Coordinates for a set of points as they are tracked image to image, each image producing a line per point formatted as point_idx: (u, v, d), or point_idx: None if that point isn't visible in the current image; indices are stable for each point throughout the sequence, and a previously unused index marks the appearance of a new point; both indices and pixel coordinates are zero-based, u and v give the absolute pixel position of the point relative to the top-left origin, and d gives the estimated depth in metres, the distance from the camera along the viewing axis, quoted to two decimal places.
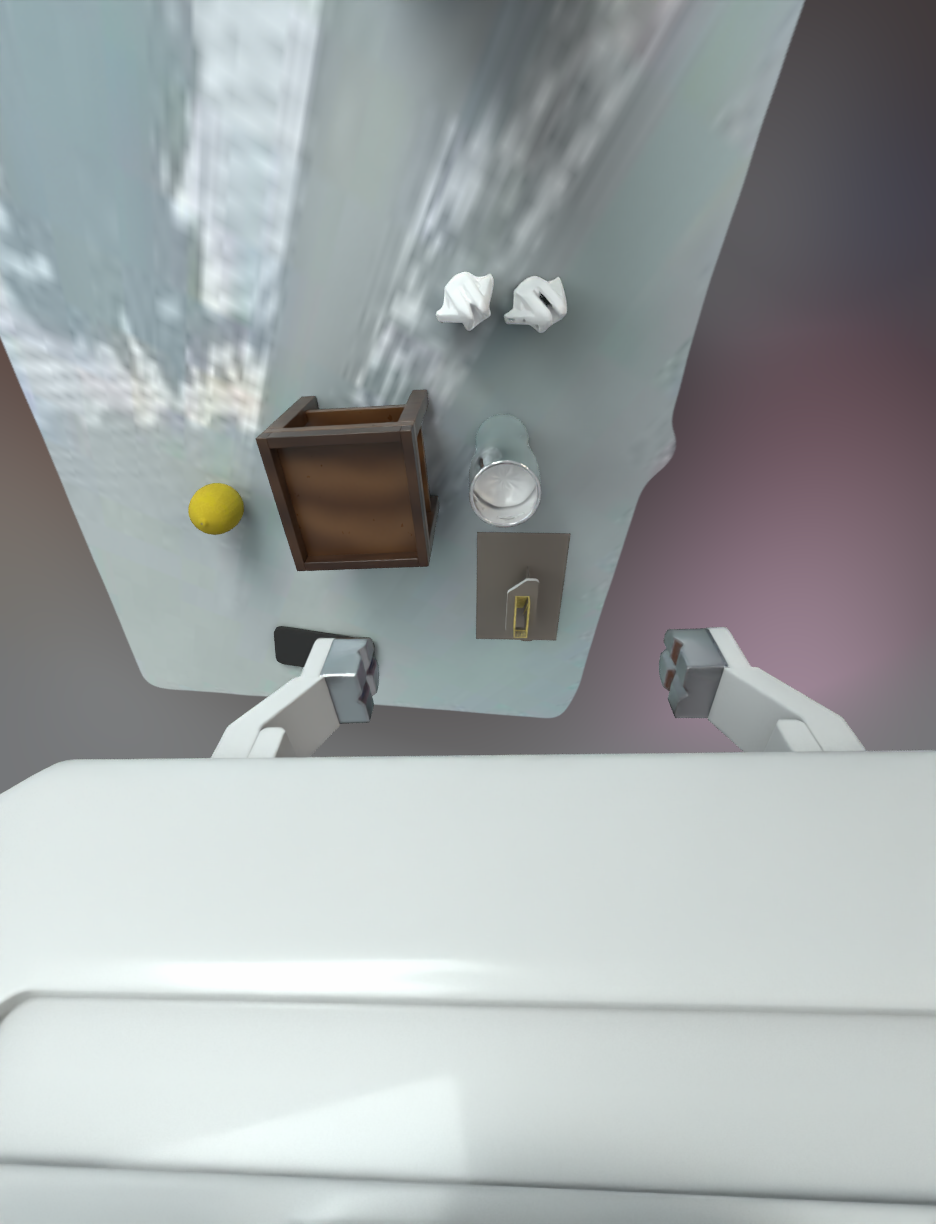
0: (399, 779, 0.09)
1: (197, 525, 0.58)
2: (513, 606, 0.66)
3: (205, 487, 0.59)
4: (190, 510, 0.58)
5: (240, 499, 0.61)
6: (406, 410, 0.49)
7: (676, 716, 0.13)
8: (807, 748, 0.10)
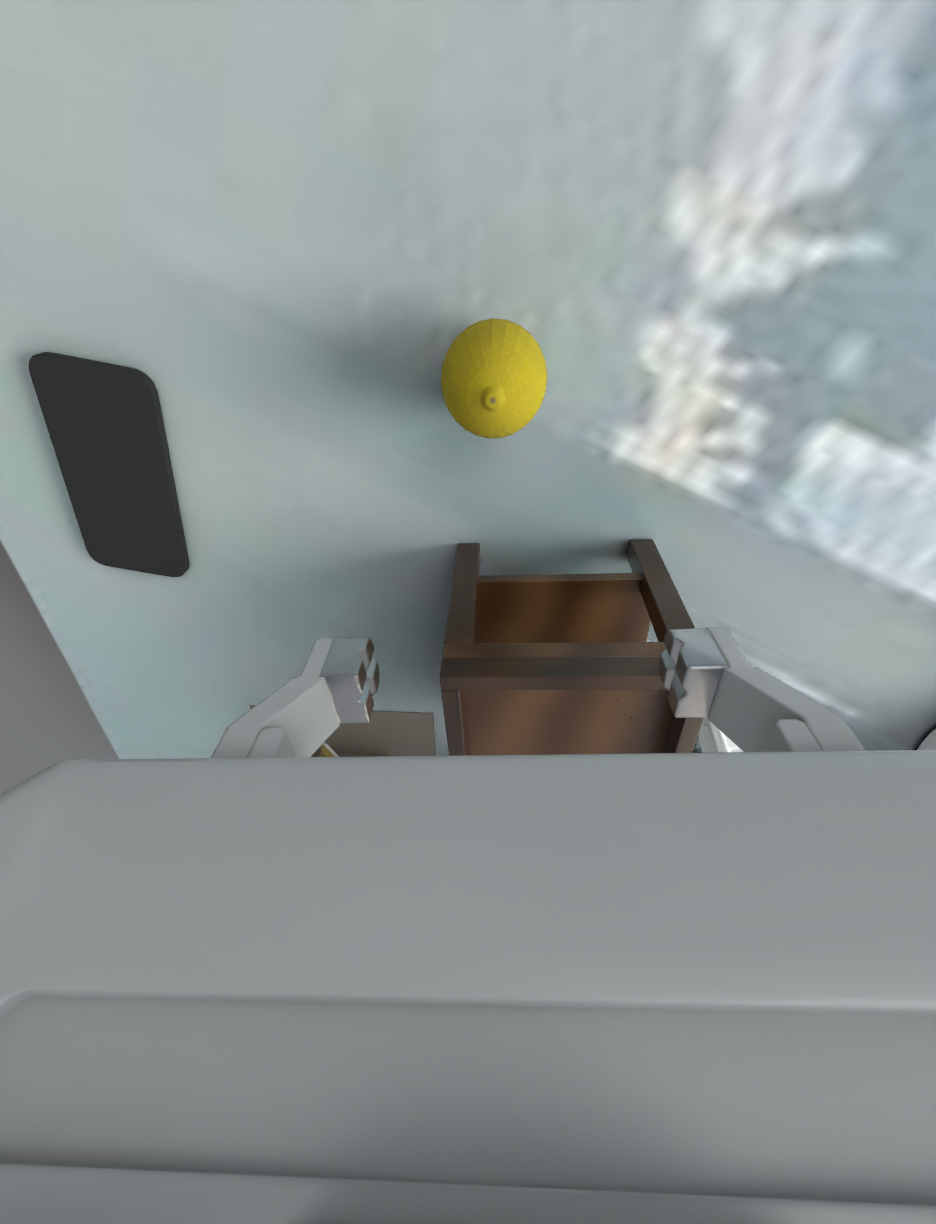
0: (398, 780, 0.09)
1: (482, 373, 0.23)
2: None
3: (546, 371, 0.26)
4: (517, 359, 0.24)
5: None
6: None
7: (676, 716, 0.13)
8: (807, 748, 0.10)
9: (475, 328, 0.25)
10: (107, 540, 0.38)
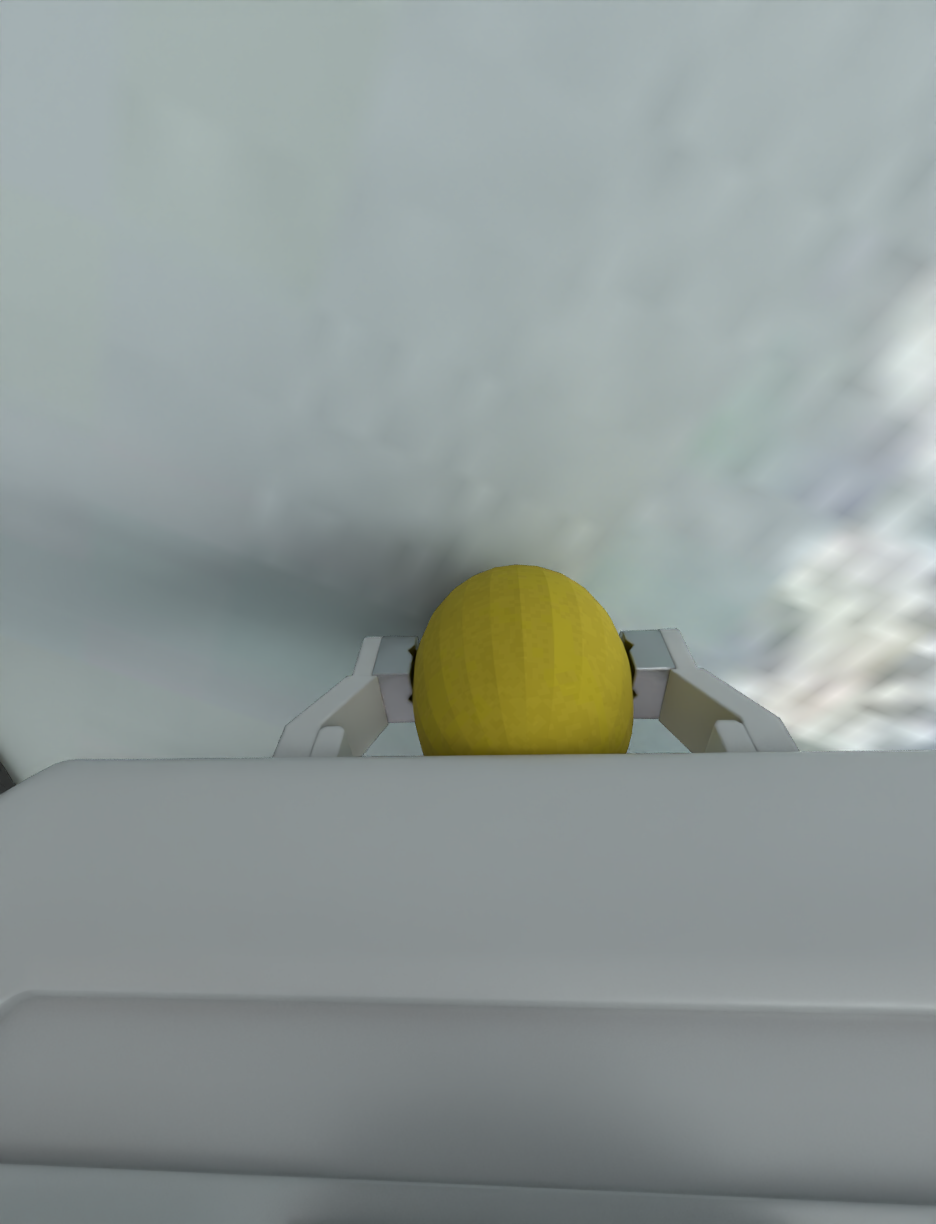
0: (399, 779, 0.09)
1: None
2: None
3: None
4: (585, 727, 0.10)
5: None
6: None
7: None
8: (742, 748, 0.10)
9: (484, 626, 0.11)
10: None
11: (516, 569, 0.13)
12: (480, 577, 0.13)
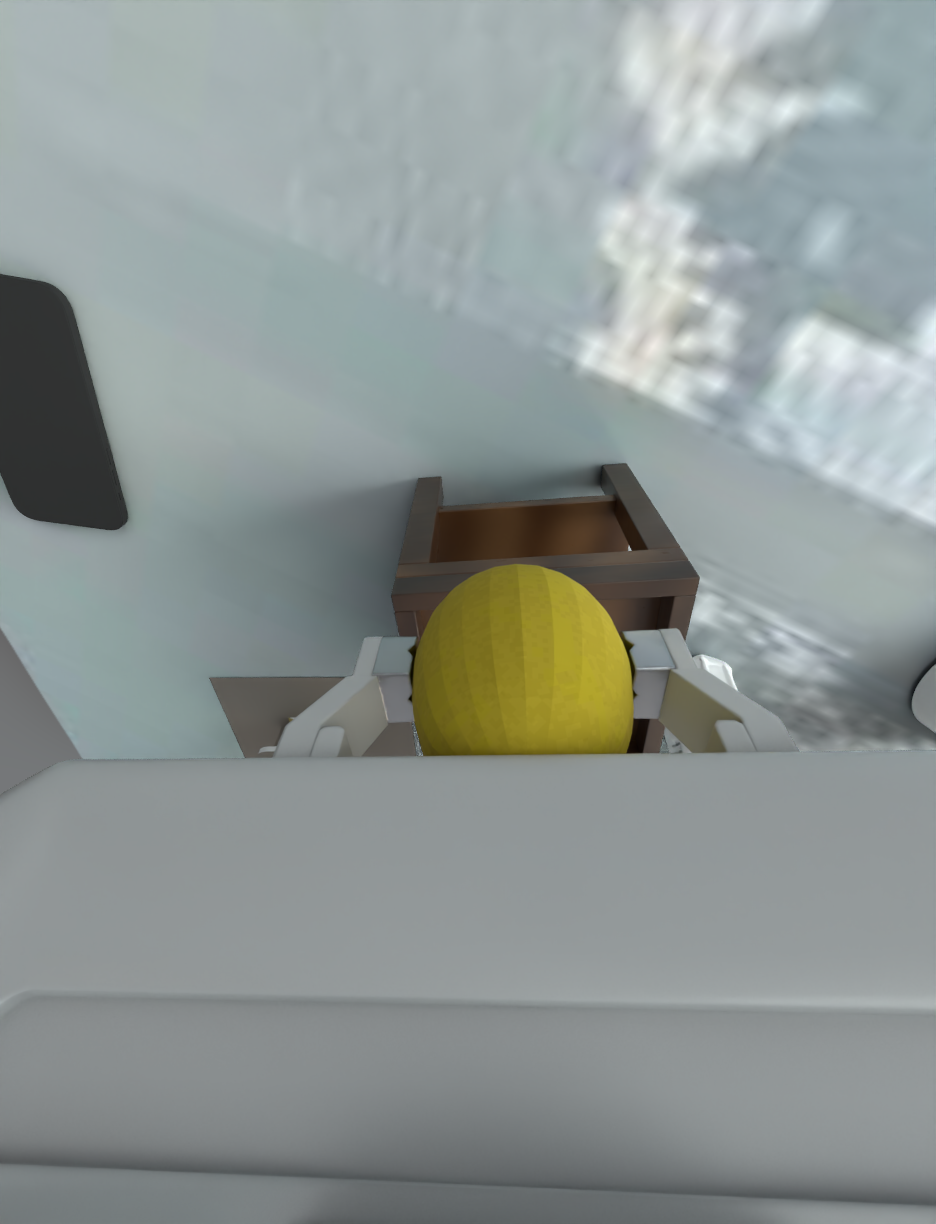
0: (399, 780, 0.09)
1: None
2: None
3: None
4: (585, 727, 0.10)
5: None
6: None
7: None
8: (742, 749, 0.10)
9: (483, 626, 0.11)
10: (34, 490, 0.34)
11: (516, 568, 0.13)
12: (480, 576, 0.13)
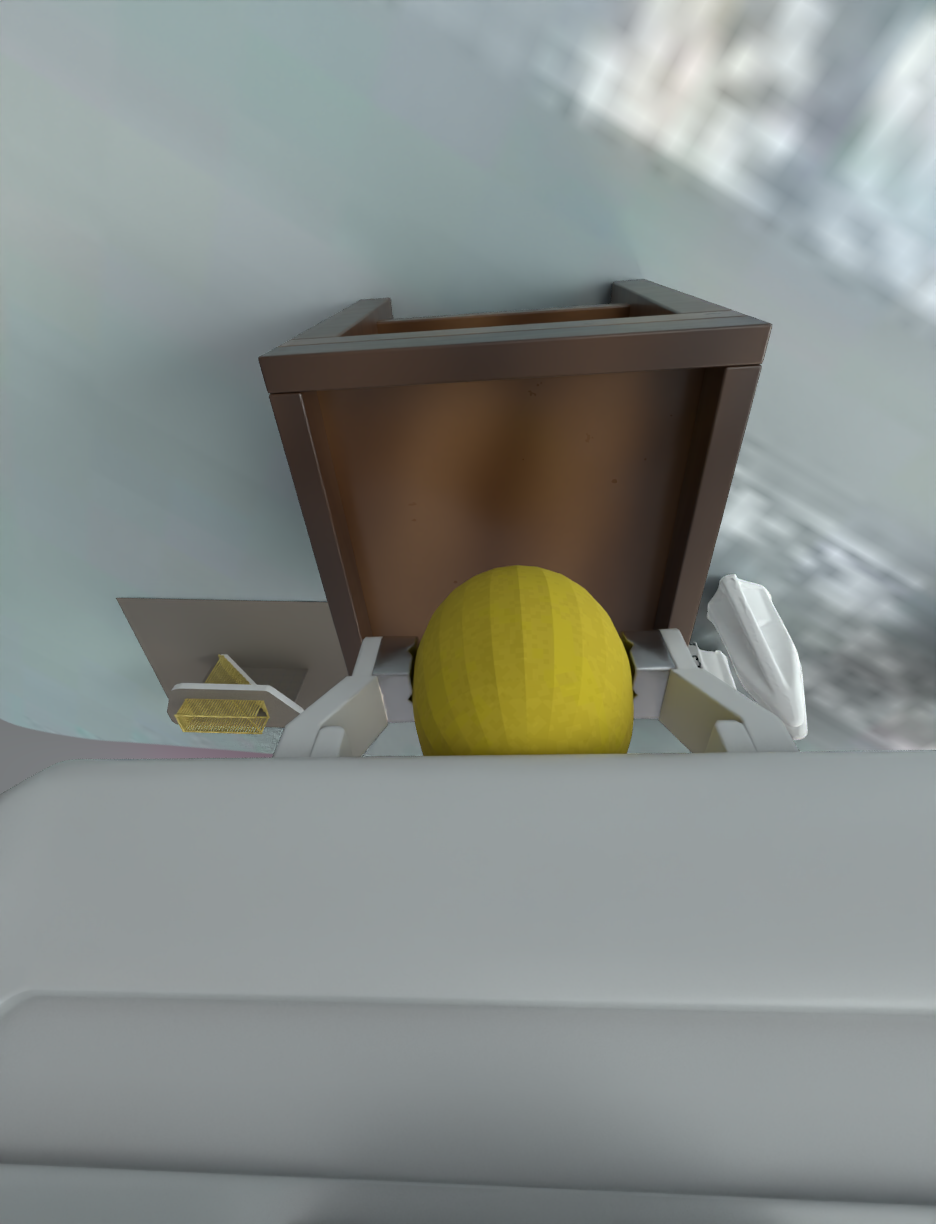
0: (399, 780, 0.09)
1: None
2: (239, 698, 0.36)
3: None
4: (585, 728, 0.10)
5: None
6: None
7: None
8: (742, 749, 0.10)
9: (484, 627, 0.11)
10: None
11: (516, 570, 0.13)
12: (480, 578, 0.13)
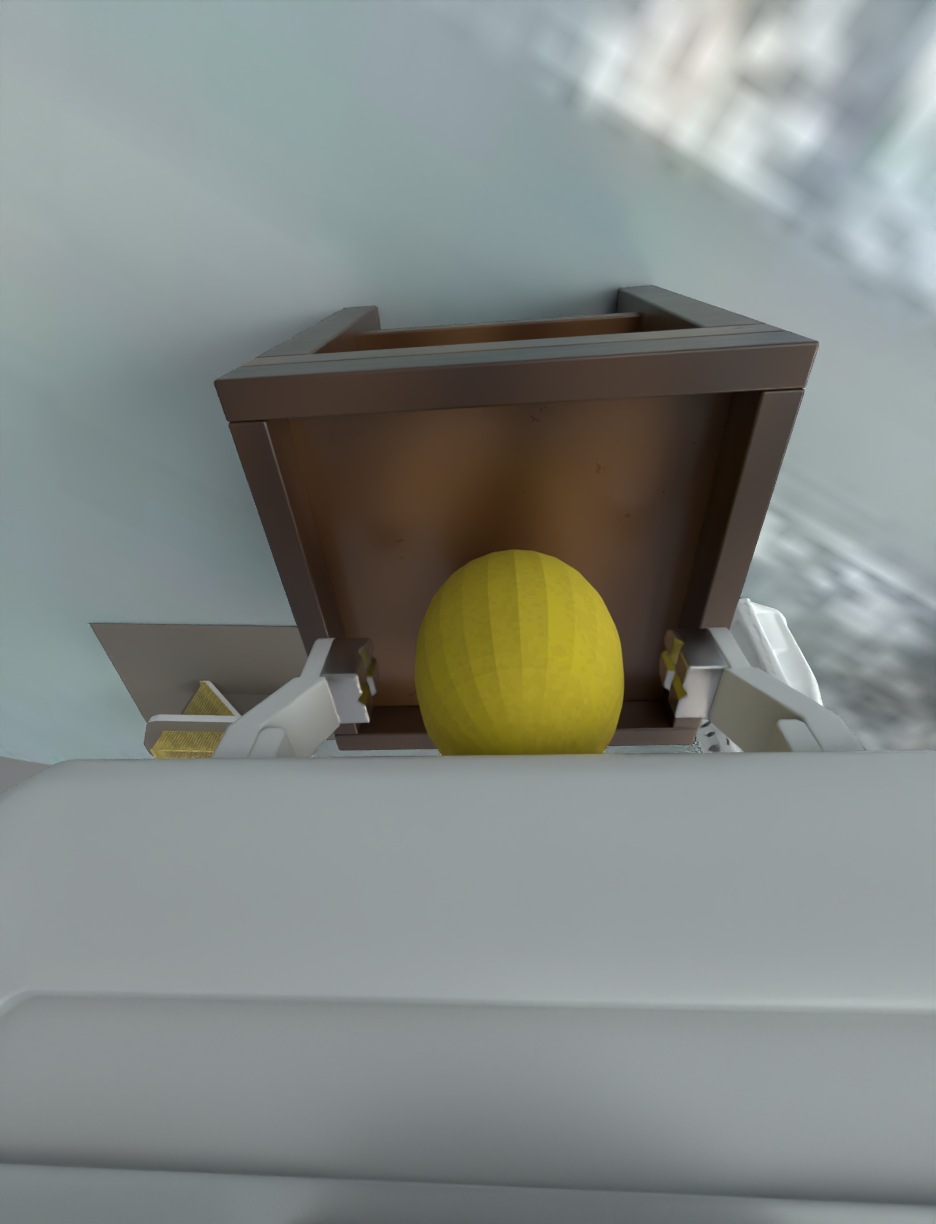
0: (399, 780, 0.09)
1: (501, 731, 0.11)
2: (221, 730, 0.34)
3: None
4: (577, 696, 0.11)
5: None
6: None
7: (676, 716, 0.13)
8: (807, 748, 0.10)
9: (482, 604, 0.12)
10: None
11: (512, 552, 0.13)
12: (478, 560, 0.14)
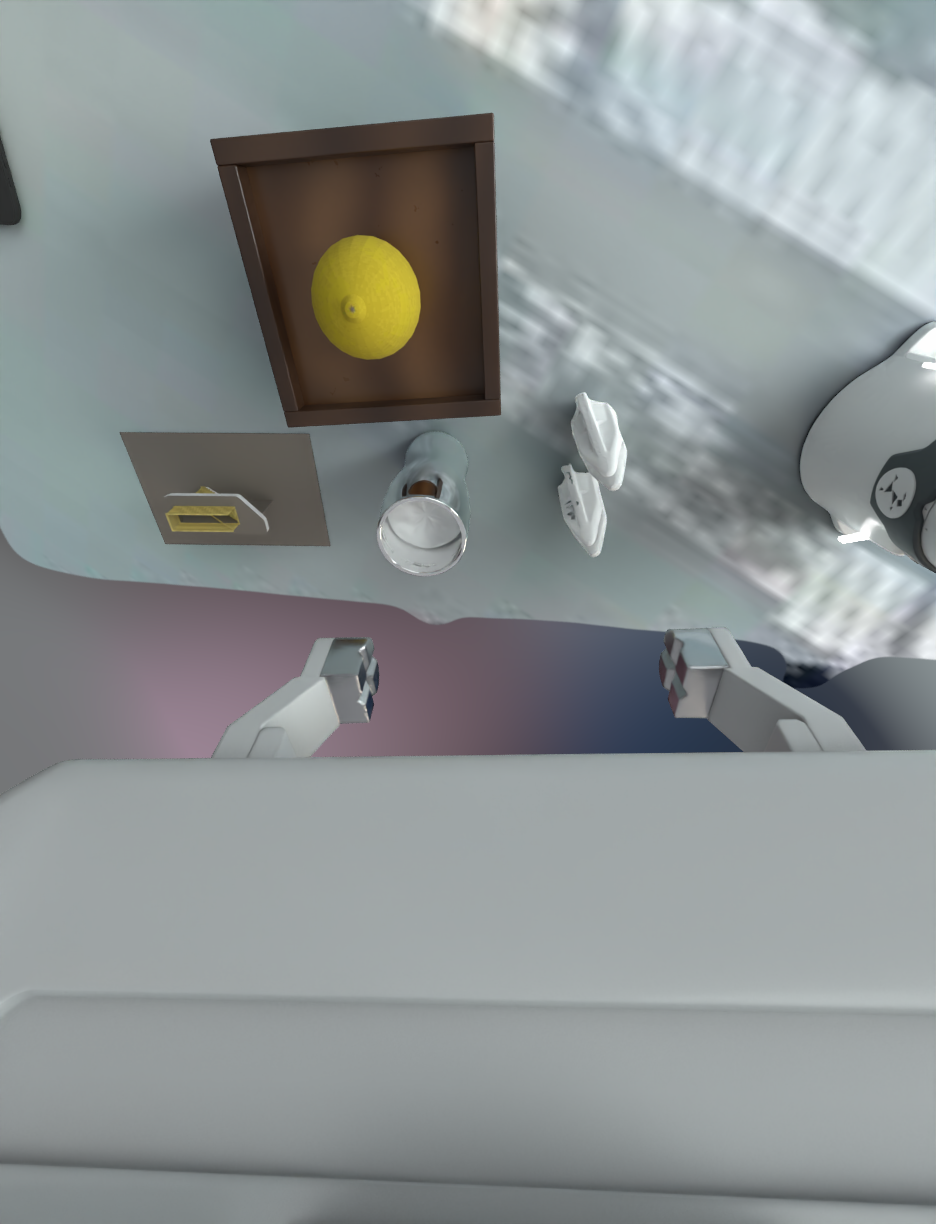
0: (399, 780, 0.09)
1: (340, 281, 0.23)
2: (216, 504, 0.46)
3: (417, 289, 0.26)
4: (375, 268, 0.24)
5: None
6: None
7: (676, 716, 0.13)
8: (807, 748, 0.10)
9: (338, 242, 0.25)
10: None
11: None
12: None
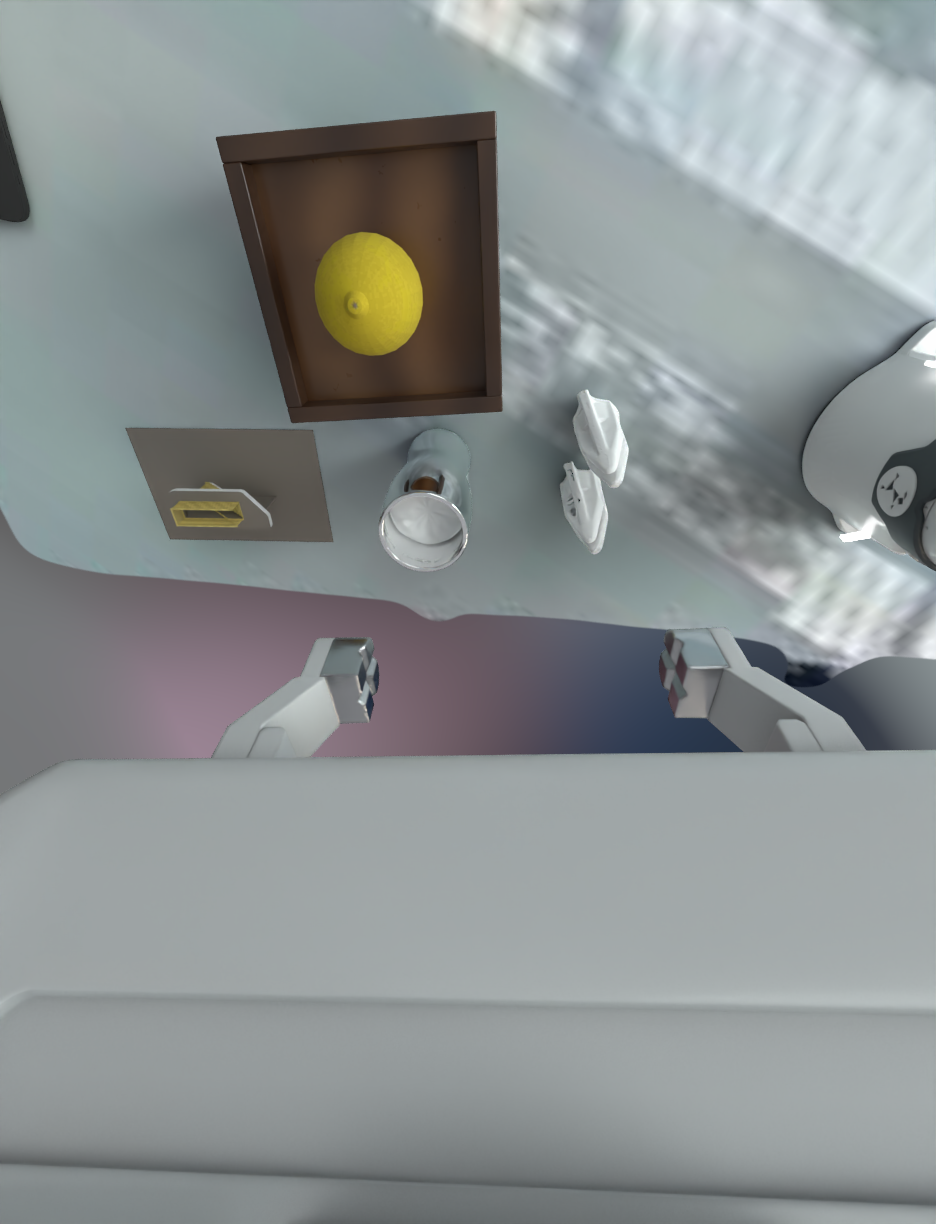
0: (398, 780, 0.09)
1: (343, 278, 0.24)
2: (220, 500, 0.47)
3: (420, 286, 0.27)
4: (378, 264, 0.24)
5: None
6: None
7: (676, 716, 0.13)
8: (807, 748, 0.10)
9: (341, 238, 0.25)
10: None
11: None
12: None
